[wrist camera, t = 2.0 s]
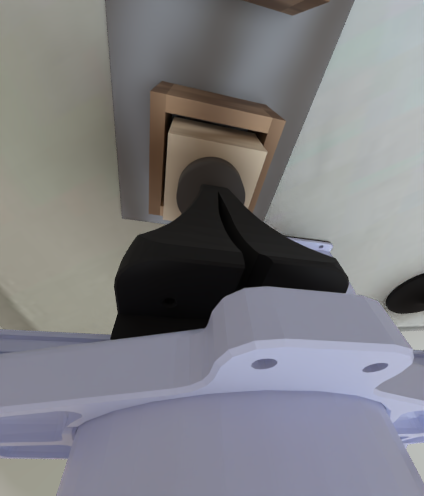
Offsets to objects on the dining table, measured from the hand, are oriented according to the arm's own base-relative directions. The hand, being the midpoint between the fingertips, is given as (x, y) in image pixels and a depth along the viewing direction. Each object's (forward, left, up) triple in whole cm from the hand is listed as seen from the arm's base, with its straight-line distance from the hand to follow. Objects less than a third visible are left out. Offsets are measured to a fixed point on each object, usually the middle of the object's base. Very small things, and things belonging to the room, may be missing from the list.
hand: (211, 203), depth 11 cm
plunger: (0, 0, -5) cm, 5 cm away
